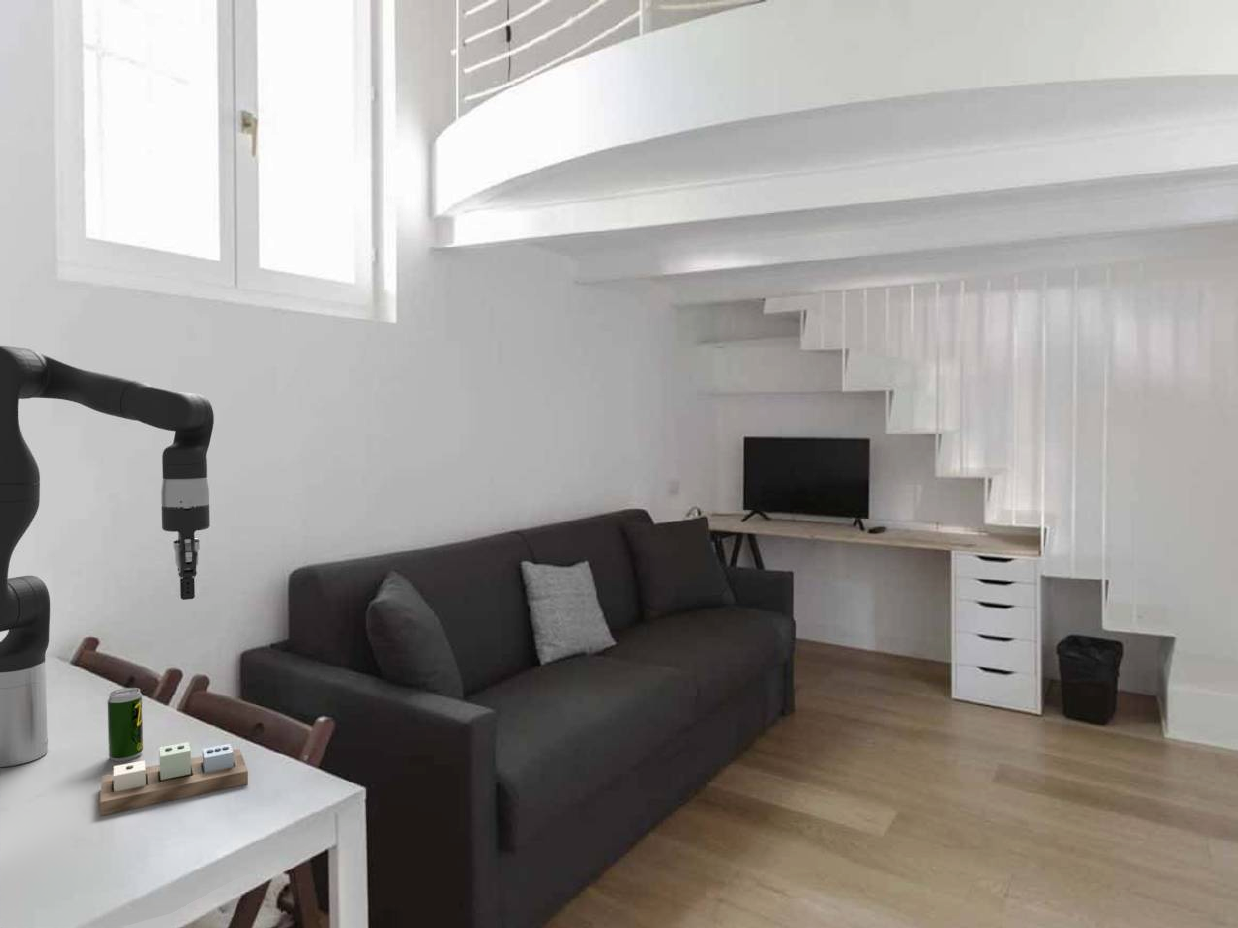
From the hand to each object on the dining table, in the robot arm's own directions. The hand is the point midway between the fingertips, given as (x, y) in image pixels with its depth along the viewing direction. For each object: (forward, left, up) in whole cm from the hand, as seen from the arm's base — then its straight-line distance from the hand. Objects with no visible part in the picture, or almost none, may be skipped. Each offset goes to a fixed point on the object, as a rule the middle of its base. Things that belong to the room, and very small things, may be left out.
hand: (187, 598), depth 141 cm
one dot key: (-9, -10, -29) cm, 32 cm away
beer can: (-10, +9, -30) cm, 33 cm away
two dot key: (-3, -10, -28) cm, 29 cm away
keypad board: (-3, -10, -30) cm, 32 cm away
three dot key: (+4, -10, -29) cm, 31 cm away
